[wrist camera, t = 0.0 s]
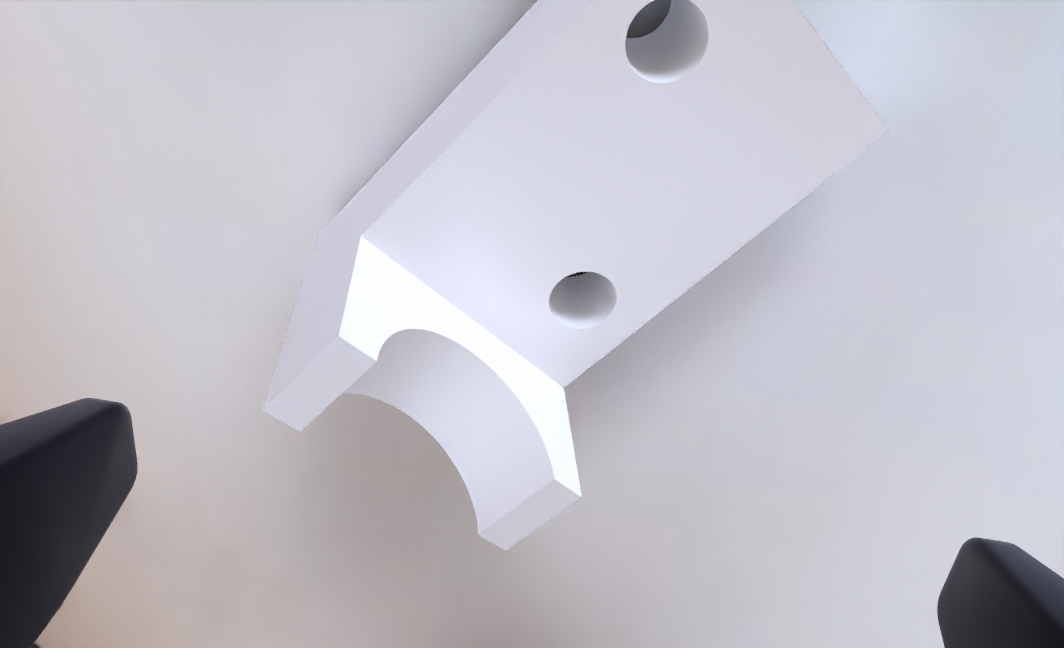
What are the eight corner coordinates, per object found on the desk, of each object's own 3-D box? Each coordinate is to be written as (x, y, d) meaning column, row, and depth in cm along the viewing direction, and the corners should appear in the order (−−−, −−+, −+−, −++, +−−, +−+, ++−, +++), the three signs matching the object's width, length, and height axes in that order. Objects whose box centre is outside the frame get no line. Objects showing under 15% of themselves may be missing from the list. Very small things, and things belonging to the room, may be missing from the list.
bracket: (495, 363, 25) (505, 551, 19) (317, 235, 22) (262, 410, 16) (829, 80, 21) (985, 209, 14) (665, -136, 17) (774, -89, 11)
